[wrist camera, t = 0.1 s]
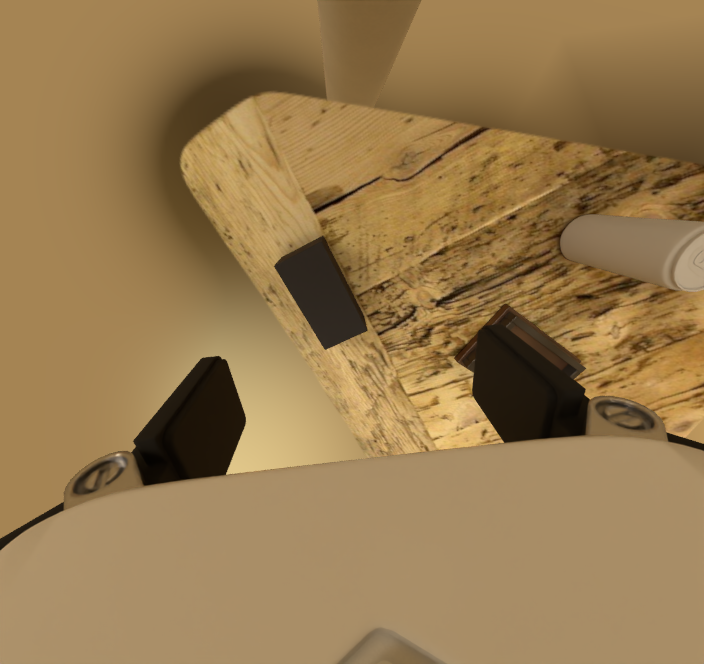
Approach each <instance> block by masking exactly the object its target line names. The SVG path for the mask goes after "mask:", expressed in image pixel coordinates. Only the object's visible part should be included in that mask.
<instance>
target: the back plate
mask: <svg viewBox="0 0 704 664" xmlns="http://www.w3.org/2000/svg"><path fill="white" fill-rule="evenodd" d="M494 324H502V325H504V326H505V327H506V328H508V329H509V330H510V331H512V332H513V333H514V334H515V335H517V336H518V337H519V338H521V339H522V340H523V341H524V342H526V343H527V344H528V345H530V346H531V347H532V348H533V349H535V350H536V351H537V352H539V353H540V354H541V355H542V356H544V357H545V358H546V359H548V360H549V361H550V362H551V363H553V364H554V365H555V366H557V367H558V368H559V369H560V370H562V371H563V372H564V373H566V374H567V375H568V376H570V377H571V378H572V379H573V380H574V379H575V378H576V377H577V376H578V375H579V374H580V373H582V372H583V371H584V370H585V369H586V368H585V367H584V366H582V365H581V364H580V362H581V360H579V359H578V358H577V357H575V356H574V355H573V354H572V353H570V352H569V351H568V350H566V349H565V348H564V347H562V346H561V345H560V344H558V343H557V342H556V341H554V340H553V339H552V338H550V337H549V336H548V335H547V334H545V333H544V332H543V331H541V330H540V329H539V328H537V327H536V326H535V325H533V324H532V323H531V322H529V321H528V320H527V319H526V318H524V317H523V316H522V315H520V314H519V313H518V312H516V311H515V310H514V309H512V308H511V307H510V306H508V305H507V304H504V306H503V307H502V308H501V309H500V310H499V311H498V312H497V313H496V314H495V315H494V316H493V317H492V318H491V320H490V321H489V322H488V323H487V324H486V325H494ZM481 330H482V329H481ZM477 335H478V334H477ZM477 335H476V336H475V337H474V338H473V339H472V340H471V341H470V342H469V343H468V344H467V345H466V346H465V348H464V349H463V350H462V351H461V352H460V353H459V354H458V355H457V356H456V357H455V360H456V361H457V362H458V363H459V364H461V365H462V366H464V367H466V368H467V369H469V370H470V371H472V372H473V373H474V367H475V356H476V346H477Z"/></svg>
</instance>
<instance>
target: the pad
mask: <svg viewBox="0 0 704 664" xmlns="http://www.w3.org/2000/svg"><path fill="white" fill-rule="evenodd" d="M274 267H275V269H276V270H277V272H278V273H279V275H280V277H281V278H282V280H283V282H284V283H285V285H286V287H287V288H288V290H289V292H290V293H291V295H292V296H293V298H294V300H295V301H296V303H297V305H298V306H299V308H300V310H301V311H302V313H303V315H304V316H305V318H306V319H307V321H308V323H309V324H310V326H311V328H312V329H313V331H314V333H315V334H316V336H317V338H318V339H319V341H320V342H321V344H322V346H323V347H324V349H325V350H326V349H328V348H330V347H333V346H335V345H337V344H339V343H341V342H344V341H346V340H348V339H350V338H352V337H354V336H357V335H359V334H361V333H363V332H365V331H367V327H366V322H365V318H364V315H363V313H362V311H361V309H360V307H359V305H358V303H357V301H356V299H355V297H354V295H353V293H352V291H351V289H350V287H349V285H348V283H347V281H346V279H345V277H344V275H343V273H342V272H341V270H340V268H339V266H338V264H337V262H336V260H335V258H334V256H333V254H332V252H331V250H330V248H329V246H328V244H327V242H326V240H325V238H324V236H322V237H320V238H318V239H316V240H314V241H312V242H310V243H308V244H306V245H304V246H302V247H301V248H299V249H297V250H295V251H293V252H291V253H289V254H287V255H285V256H283V257H282V258H281V259H280V260H279V261H278V262H277V263H276V264H275V266H274Z"/></svg>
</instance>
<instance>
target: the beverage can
mask: <svg viewBox="0 0 704 664" xmlns="http://www.w3.org/2000/svg"><path fill="white" fill-rule="evenodd" d="M560 248H561V252H562V254H563V255H564V257H565V258H567V259H568V260H571V261H574V262H577V263H581V264H584V265H588V266H592V267H595V268H599V269H602V270H606V271H609V272H613V273H616V274H620V275H623V276H627V277H630V278H634V279H638V280H641V281H645V282H648V283H652V284H655V285H659V286H662V287H666V288H669V289H673V290H684V291H687V292H697V291H701V290H704V222H697V221H683V220H667V219H650V218H635V217H622V216H609V215H596V214H589V215H584V216H580V217H578V218H576V219H575V220H573V221H572V222H571V223H570V224H569V225H568V226H567V227H566V228H565V230H564V231H563V233H562V235H561V238H560Z"/></svg>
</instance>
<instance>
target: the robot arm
mask: <svg viewBox="0 0 704 664" xmlns="http://www.w3.org/2000/svg"><path fill="white" fill-rule="evenodd" d="M585 390H586V389H585V388H584V387H582V386H581V385H580V384H579V383H577V382H576V381H575V380H573V379H572V378H571V377H570V376H568V375H567V374H566V373H564V372H563V371H562V370H560V369H559V368H558V367H557V366H555V365H554V364H553V363H551V362H550V361H549V360H548V359H546V358H545V357H544V356H542V355H541V354H540V353H539V352H537V351H536V350H535V349H533V348H532V347H531V346H530V345H528V344H527V343H526V342H524V341H523V340H522V339H521V338H519V337H518V336H517V335H515V334H514V333H513V332H512V331H510V330H509V329H508V328H506V327H505V326H504V325H502V324H494V325H485V326H484V327H483V328H482V330H479V331H478V335H477V346H476V356H475V367H474V378H473V388H472V391H473V396H474V399H475V400H476V402H477V403H478V405H479V406H480V408H481V409H482V411H483V412H484V413H485V415H486V416H487V418H488V419H489V421H490V422H491V424H492V425H493V427H494V428H495V430H496V431H497V433H498V434H499V436H500V437H501V438H502V440H503V441H504V443H499V444H490V445H480V446H471V447H462V448H453V449H444V450H436V451H427V452H418V453H410V454H401V455H392V456H384V457H375V458H366V459H358V460H349V461H340V462H331V463H323V464H314V465H305V466H297V467H288V468H279V469H271V470H263V471H254V472H246V473H238V474H229V475H226V472H227V470H228V467H229V465H230V462H231V460H232V457H233V454H234V452H235V450H236V447H237V445H238V442H239V440H240V437H241V434H242V432H243V430H244V427H245V423H246V417H245V413H244V410H243V408H242V404H241V402H240V399H239V396H238V393H237V390H236V387H235V384H234V381H233V378H232V375H231V372H230V369H229V366H228V363H227V361H226V360H225V359H221V357H219V356H215V357H206V358H202V359H200V361H199V362H198V363H197V364H196V366H195V367H194V368H193V369H192V370H191V372H190V373H189V374H188V376H186V378H185V379H184V380H183V381H182V382H181V384H180V385H179V386H178V387H177V389H176V390H175V391H174V392H173V393H172V395H171V396H170V397H169V398H168V400H167V401H166V402H165V403H164V404H163V406H162V407H161V408H160V409H159V410H158V412H157V413H156V414H155V415H154V416H153V418H152V419H151V420H150V421H149V422H148V424H147V425H146V426H145V427H144V428H143V430H142V431H141V432H140V433H139V435H138V436H137V437H136V438H135V439H134V441H133V442H134V444H135V445H136V448H135V449H134V450H133V451H132V452H131V453H130V452H128V451H118V452H114V453H110V454H108V455H105V456H103V457H100V458H98V459H97V460H95V461H93V462H91V463H90V464H88V465H87V466H85V467H84V468H83V469H81V470H80V471H79V472H78V473H77V474H76V475H75V476H74V477H73V478H72V479H71V480H70V482H69V483H68V484H67V486H66V488H65V492H64V502H63V503H61V504H59V505H58V506H56V507H54V508H52V509H51V510H49V511H47V512H46V513H44V514H42V515H40V516H39V517H37V518H35V519H33V520H32V521H30V522H28V523H27V524H25V525H23V526H21V527H20V528H18V529H16V530H14V531H13V532H11V533H9V534H8V535H6V536H4V537H3V538H1V539H0V664H704V444H702V443H699V442H696V441H692V440H689V439H686V438H683V437H679V436H676V435H673V434H670V433H666V430H665V426H664V423H663V421H662V419H661V418H660V417H659V416H658V415H657V414H656V413H655V412H653V411H652V410H650V409H648V408H647V407H645V406H643V405H641V404H639V403H636V402H634V401H631V400H628V399H624V398H620V397H614V396H598V397H594V398H593V399H591V400H590V399H589V398H587V397H586V396H585V395H584V393H585Z"/></svg>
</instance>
